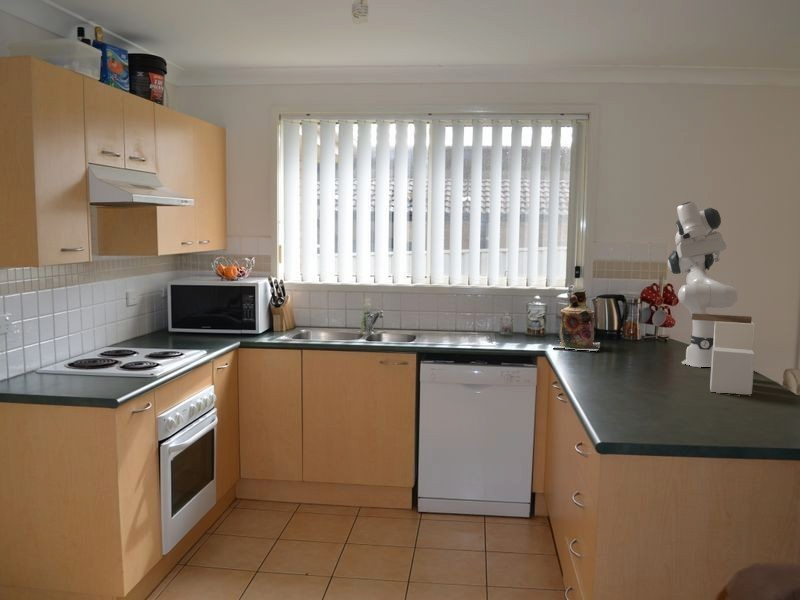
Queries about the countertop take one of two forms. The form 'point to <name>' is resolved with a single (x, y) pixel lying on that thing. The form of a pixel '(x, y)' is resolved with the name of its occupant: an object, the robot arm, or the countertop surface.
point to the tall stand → (734, 335)
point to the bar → (721, 318)
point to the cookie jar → (577, 324)
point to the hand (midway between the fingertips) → (707, 263)
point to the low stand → (732, 370)
